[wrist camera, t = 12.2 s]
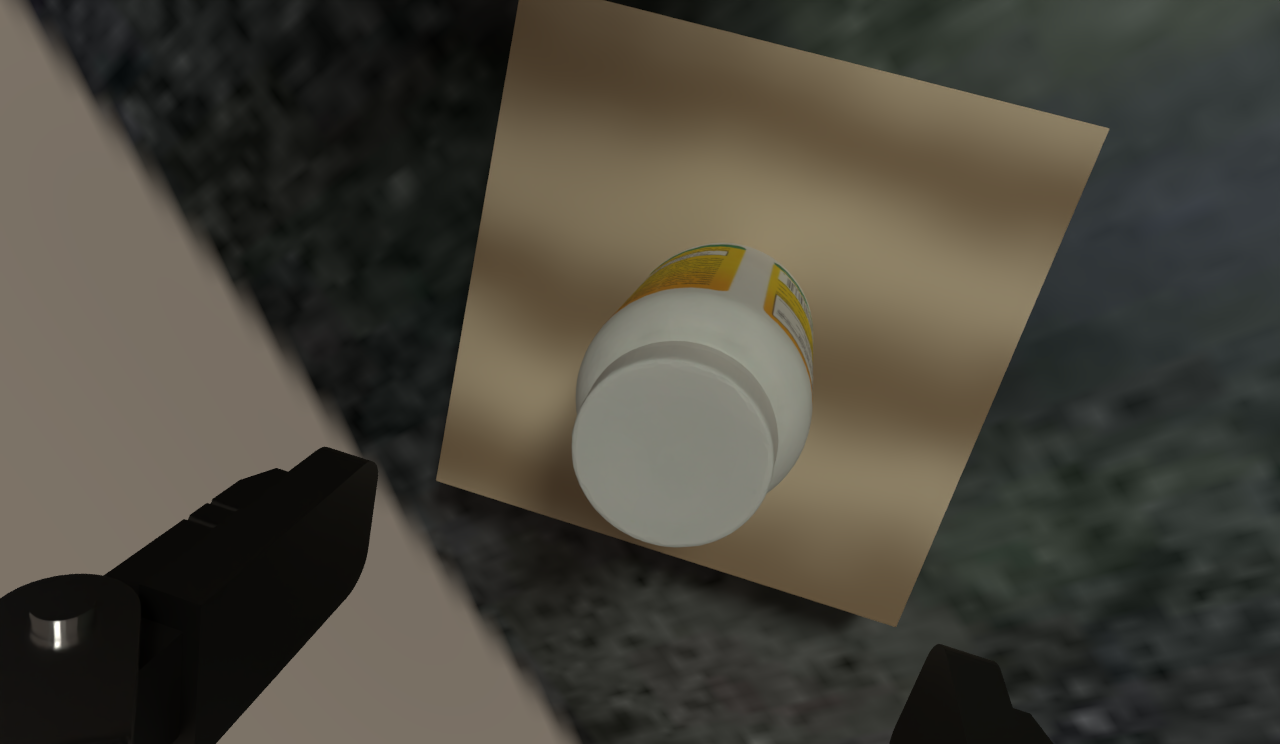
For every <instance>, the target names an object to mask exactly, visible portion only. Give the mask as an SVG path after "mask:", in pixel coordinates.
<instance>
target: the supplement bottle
mask: <svg viewBox="0 0 1280 744" xmlns="http://www.w3.org/2000/svg"><path fill="white" fill-rule="evenodd" d="M813 343H814V335H813V322H812V316H811V311H810V308H809V305H808V302H807V299H806V297H805V295H804V293H803V291H802V289H801V287H800V286H799V284H798V283H797V281H796V280H795V278H794V277H793V276H792V275H791V274H790V272H789V271H788V270H787V269H786V268H785V267H784V266H782V265H781V264H780V263H779V262H778V261H776V260H775V259H773V258H772V257H770V256H769V255H767V254H765V253H763V252H761V251H759V250H757V249H754V248H751V247H748V246H744V245H740V244H735V243H724V242H723V243H711V244H705V245H700V246H696V247H692V248H689V249H687V250H684V251H682V252H680V253H678V254H676V255H674V256H672V257H671V258H669V259H667V260H666V261H665V262H663V263H662V264H661V265H660V266H659V267H658V268H656V269H655V270H654V271H653V272H652V273H651V274H650V275H649V276H648V278H647V279H646V280H645V281H644V282H643V283H642V284H641V285H640V287H639V288H638V289H637V290H636V291H635V292H634V293H633V294H632V295H631V296H630V297H629V298H628V299H627V300H626V302H625V303H624V304H623V305H622V306H621V307H620V308H619V309H618V310H617V311H616V312H615V313H614V315H613V316H612V317H611V318H610V319H609V320H608V321H607V322H606V323H605V324H604V325H603V327H602V328H601V329H600V330H599V332H598V333H597V334H596V336H595V337H594V339H593V340H592V342H591V343H590V345H589V347H588V349H587V351H586V353H585V355H584V358H583V360H582V363H581V366H580V370H579V373H578V378H577V384H576V412H577V417H576V420H575V424H574V427H573V431H572V461H573V467H574V471H575V474H576V477H577V480H578V482H579V485H580V487H581V489H582V490H583V492H584V494H585V496H586V497H587V499H588V500H589V502H590V503H591V505H592V506H593V507H594V508H595V510H596V511H597V512H598V513H599V514H600V515H601V516H602V517H603V518H604V519H605V520H607V521H608V522H609V523H610V524H611V525H613V526H614V527H616V528H617V529H619V530H620V531H622V532H623V533H625V534H627V535H629V536H631V537H633V538H635V539H638V540H641V541H643V542H646V543H650V544H654V545H658V546H664V547H692V546H700V545H705V544H708V543H711V542H714V541H717V540H719V539H722V538H724V537H726V536H727V535H729V534H731V533H732V532H734V531H736V530H737V529H738V528H739V527H741V526H742V525H743V524H744V523H746V522H747V521H748V520H749V519H750V518H751V516H752V515H753V514H754V513H755V512H756V511H757V509H758V508H759V506H760V505H761V503H762V501H763V500H764V498H765V496H766V494H767V493H768V492H770V491H771V490H772V489H773V488H775V487H776V486H777V485H778V484H779V483H780V482H781V481H782V480H783V479H784V478H785V477H786V476H787V474H788V473H789V472H790V470H791V469H792V468H793V466H794V465H795V463H796V461H797V460H798V458H799V456H800V454H801V452H802V450H803V448H804V446H805V443H806V440H807V437H808V434H809V429H810V424H811V417H812V404H813V348H814V344H813Z"/></svg>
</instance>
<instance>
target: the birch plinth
mask: <svg viewBox="0 0 1280 744" xmlns="http://www.w3.org/2000/svg"><path fill="white" fill-rule="evenodd" d="M1108 131H1109V128H1105V127H1101V126H1097V125H1093V124H1089V123H1085V122H1081V121H1077V120H1074V119H1070V118H1066V117H1062V116H1058V115H1054V114H1050V113H1046V112H1042V111H1038V110H1034V109H1030V108H1026V107H1022V106H1018V105H1014V104H1011V103H1007V102H1003V101H999V100H995V99H991V98H987V97H983V96H979V95H975V94H971V93H967V92H963V91H959V90H955V89H951V88H947V87H944V86H940V85H936V84H932V83H928V82H924V81H920V80H916V79H912V78H908V77H904V76H900V75H896V74H892V73H888V72H884V71H881V70H877V69H873V68H869V67H865V66H861V65H857V64H853V63H849V62H845V61H841V60H837V59H833V58H829V57H825V56H821V55H817V54H814V53H810V52H806V51H802V50H798V49H794V48H790V47H786V46H782V45H778V44H774V43H770V42H766V41H762V40H758V39H754V38H751V37H747V36H743V35H739V34H735V33H731V32H727V31H723V30H719V29H715V28H711V27H707V26H703V25H699V24H695V23H691V22H687V21H684V20H680V19H676V18H672V17H668V16H664V15H660V14H656V13H652V12H648V11H644V10H640V9H636V8H632V7H628V6H624V5H621V4H617V3H613V2H609V1H605V0H519V3H518V9H517V14H516V20H515V26H514V32H513V38H512V43H511V49H510V55H509V61H508V67H507V72H506V78H505V84H504V90H503V96H502V101H501V107H500V113H499V119H498V125H497V130H496V136H495V142H494V148H493V154H492V159H491V165H490V171H489V177H488V183H487V188H486V194H485V200H484V206H483V212H482V217H481V223H480V229H479V235H478V241H477V246H476V252H475V258H474V264H473V270H472V275H471V281H470V287H469V293H468V299H467V304H466V310H465V316H464V322H463V328H462V333H461V339H460V345H459V351H458V357H457V362H456V368H455V374H454V380H453V386H452V391H451V397H450V403H449V409H448V415H447V420H446V426H445V432H444V438H443V444H442V449H441V455H440V461H439V467H438V473H437V478H436V481H439V482H442V483H445V484H448V485H451V486H454V487H457V488H461V489H464V490H467V491H470V492H473V493H476V494H479V495H483V496H486V497H489V498H492V499H495V500H498V501H501V502H505V503H508V504H511V505H514V506H517V507H520V508H523V509H527V510H530V511H533V512H536V513H539V514H542V515H545V516H549V517H552V518H555V519H558V520H561V521H564V522H567V523H571V524H574V525H577V526H580V527H583V528H586V529H589V530H593V531H596V532H599V533H602V534H605V535H608V536H611V537H615V538H618V539H621V540H624V541H627V542H630V543H633V544H636V545H640V546H643V547H646V548H649V549H652V550H655V551H658V552H662V553H665V554H668V555H671V556H674V557H677V558H680V559H684V560H687V561H690V562H693V563H696V564H699V565H702V566H706V567H709V568H712V569H715V570H718V571H721V572H724V573H728V574H731V575H734V576H737V577H740V578H743V579H746V580H750V581H753V582H756V583H759V584H762V585H765V586H768V587H772V588H775V589H778V590H781V591H784V592H787V593H790V594H793V595H797V596H800V597H803V598H806V599H809V600H812V601H815V602H819V603H822V604H825V605H828V606H831V607H834V608H837V609H841V610H844V611H847V612H850V613H853V614H856V615H859V616H863V617H866V618H869V619H872V620H875V621H878V622H881V623H885V624H888V625H891V626H894V627H896V626H897V624H898V621H899V619H900V617H901V614H902V612H903V610H904V607H905V605H906V603H907V600H908V598H909V596H910V593H911V591H912V589H913V586H914V584H915V582H916V579H917V577H918V575H919V572H920V570H921V568H922V565H923V563H924V561H925V558H926V556H927V554H928V551H929V549H930V547H931V544H932V542H933V540H934V537H935V535H936V533H937V530H938V528H939V526H940V523H941V521H942V519H943V516H944V514H945V512H946V509H947V507H948V504H949V502H950V500H951V497H952V495H953V493H954V490H955V488H956V486H957V483H958V481H959V479H960V476H961V474H962V472H963V469H964V467H965V465H966V462H967V460H968V458H969V455H970V453H971V451H972V448H973V446H974V444H975V441H976V439H977V437H978V434H979V432H980V430H981V427H982V425H983V423H984V420H985V418H986V416H987V413H988V411H989V409H990V406H991V404H992V402H993V399H994V397H995V395H996V392H997V390H998V388H999V385H1000V383H1001V381H1002V378H1003V376H1004V374H1005V371H1006V369H1007V367H1008V364H1009V362H1010V360H1011V357H1012V355H1013V353H1014V350H1015V348H1016V346H1017V343H1018V341H1019V339H1020V336H1021V334H1022V332H1023V329H1024V327H1025V325H1026V322H1027V320H1028V318H1029V315H1030V313H1031V311H1032V308H1033V306H1034V304H1035V301H1036V299H1037V297H1038V294H1039V292H1040V290H1041V287H1042V285H1043V283H1044V280H1045V278H1046V276H1047V273H1048V271H1049V269H1050V266H1051V264H1052V262H1053V259H1054V257H1055V255H1056V252H1057V250H1058V248H1059V245H1060V243H1061V241H1062V238H1063V236H1064V234H1065V231H1066V229H1067V227H1068V224H1069V222H1070V220H1071V217H1072V215H1073V213H1074V210H1075V208H1076V206H1077V203H1078V201H1079V199H1080V196H1081V194H1082V192H1083V189H1084V187H1085V185H1086V182H1087V180H1088V178H1089V175H1090V173H1091V171H1092V168H1093V166H1094V164H1095V161H1096V159H1097V157H1098V154H1099V152H1100V150H1101V147H1102V145H1103V143H1104V140H1105V138H1106V136H1107V133H1108ZM723 242H724V243H735V244H740V245H744V246H748V247H751V248H754V249H757V250H759V251H761V252H763V253H765V254H767V255H769V256H770V257H772V258H773V259H775V260H776V261H778V262H779V263H780V264H781V265H782V266H784V267H785V268H786V269H787V270H788V271H789V272H790V274H791V275H792V276H793V277H794V278H795V280H796V281H797V283H798V284H799V286H800V287H801V289H802V291H803V293H804V295H805V297H806V299H807V302H808V305H809V308H810V311H811V316H812V322H813V335H814V343H813V344H814V348H813V404H812V417H811V424H810V429H809V434H808V437H807V440H806V443H805V446H804V448H803V450H802V452H801V454H800V456H799V458H798V460H797V461H796V463H795V465H794V466H793V468H792V469H791V470H790V472H789V473H788V474H787V476H786V477H785V478H784V479H783V480H782V481H781V482H780V483H779V484H778V485H777V486H776V487H775V488H773V489H772V490H771V491H770V492H768V493H767V494H766V496H765V498H764V500H763V501H762V503H761V505H760V506H759V508H758V509H757V511H756V512H755V513H754V514H753V515H752V516H751V518H750V519H749V520H748V521H747V522H746V523H744V524H743V525H742V526H741V527H739V528H738V529H737V530H736V531H734V532H732V533H731V534H729V535H727V536H726V537H724V538H722V539H719V540H717V541H714V542H711V543H708V544H705V545H700V546H692V547H664V546H658V545H654V544H650V543H646V542H643V541H641V540H638V539H635V538H633V537H631V536H629V535H627V534H625V533H623V532H622V531H620V530H619V529H617V528H616V527H614V526H613V525H611V524H610V523H609V522H608V521H607V520H605V519H604V518H603V517H602V516H601V515H600V514H599V513H598V512H597V511H596V510H595V508H594V507H593V506H592V505H591V503H590V502H589V500H588V499H587V497H586V496H585V494H584V492H583V490H582V489H581V487H580V485H579V482H578V480H577V477H576V474H575V471H574V467H573V461H572V431H573V427H574V424H575V420H576V417H577V412H576V384H577V378H578V373H579V370H580V366H581V363H582V360H583V358H584V355H585V353H586V351H587V349H588V347H589V345H590V343H591V342H592V340H593V339H594V337H595V336H596V334H597V333H598V332H599V330H600V329H601V328H602V327H603V325H604V324H605V323H606V322H607V321H608V320H609V319H610V318H611V317H612V316H613V315H614V313H615V312H616V311H617V310H618V309H619V308H620V307H621V306H622V305H623V304H624V303H625V302H626V300H627V299H628V298H629V297H630V296H631V295H632V294H633V293H634V292H635V291H636V290H637V289H638V288H639V287H640V285H641V284H642V283H643V282H644V281H645V280H646V279H647V278H648V276H649V275H650V274H651V273H652V272H653V271H654V270H655V269H656V268H658V267H659V266H660V265H661V264H662V263H663V262H665V261H666V260H667V259H669V258H671V257H672V256H674V255H676V254H678V253H680V252H682V251H684V250H687V249H689V248H692V247H696V246H700V245H705V244H711V243H723Z"/></svg>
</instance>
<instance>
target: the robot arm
mask: <svg viewBox="0 0 1280 744" xmlns="http://www.w3.org/2000/svg"><path fill="white" fill-rule="evenodd" d="M377 480H378V469H377V465H376V464H375V463H374V462H372V461H369V460H366V459H363V458H360V457H357V456H354V455H350V454H347V453H344V452H341V451H338V450H335V449H332V448H328V447H322V448H320V449H318V450H317V451H315V452H314V453H313V454H311V455H310V456H309V457H307V458H306V459H305V460H303V461H302V462H301V463H299V464H298V465H297V466H295V467H294V468H293V469H291V470H290V471H289V472H287V471H284V470H281V469H278V468H275V469H272V470H269V471H266V472H263V473H260V474H257V475H254V476H251V477H248V478H245V479H242V480H239V481H238V482H236V483H235V484H233V485H232V486H231V487H229V488H228V489H226V490H225V491H223V492H222V493H221V494H219V495H218V496H216V497H215V498H213V499H212V502H211V504H208V503H207V504H205V505H203V506H202V507H201V508H199V509H198V510H196V511H195V512H194V513H192V514H191V515H190V517H189V519H188V520H185V519H184V520H182V521H181V522H179V523H178V524H176V525H175V526H174V527H172V528H171V529H169V530H168V531H166V532H165V533H164V534H162V535H161V536H159V537H158V538H156V539H155V540H154V541H152V542H151V543H149V544H148V545H147V546H145V547H144V548H142V549H141V550H140V551H138V552H137V553H135V554H134V555H132V556H131V557H129V558H128V559H127V560H125V561H124V562H122V563H121V564H120V565H118V566H117V567H115V568H114V569H112V570H111V571H110V572H108V573H107V574H105V575H104V576H101V575H95V574H94V575H93V574H69V575H60V576H54V577H50V578H45V579H42V580H38V581H35V582H31V583H29V584H27V585H24V586H21V587H19V588H17V589H15V590H13V591H11V592H10V593H8V594H6V595H5V596H3V597H2V598H0V744H216V743H217V742H218V741H219V739H220V738H221V737H222V736H223V735H224V734H225V733H226V732H227V731H228V729H229V728H230V727H231V726H232V725H233V724H234V723H235V722H236V721H237V719H238V718H239V717H240V716H241V715H242V714H243V713H244V711H245V710H246V709H247V708H248V707H249V706H250V705H251V704H252V703H253V701H254V700H255V699H256V698H257V697H258V696H259V695H260V694H261V693H262V691H263V690H264V689H265V688H266V687H267V686H268V685H269V684H270V683H271V681H272V680H273V679H274V678H275V677H276V676H277V675H278V674H279V673H280V671H281V670H282V669H283V668H284V667H285V666H286V665H287V664H288V662H289V661H290V660H291V659H292V658H293V657H294V656H295V655H296V654H297V652H298V651H299V650H300V649H301V648H302V647H303V646H304V645H305V644H306V642H307V641H308V640H309V639H310V638H311V637H312V636H313V635H314V634H315V632H316V631H317V630H318V629H319V628H320V627H321V626H322V625H323V623H324V622H325V621H326V620H327V619H328V618H329V617H330V615H332V613H333V612H334V611H335V610H336V609H337V608H338V607H339V606H340V604H341V603H342V602H343V601H344V600H345V599H346V598H347V597H348V595H349V594H350V593H351V591H352V590H353V588H354V587H355V585H356V583H357V581H358V579H359V577H360V575H361V573H362V570H363V567H364V564H365V561H366V557H367V553H368V546H369V539H370V531H371V523H372V517H373V516H372V515H373V509H374V502H375V495H376V487H377ZM890 744H1053V743H1052V741H1051V740H1050V739H1049V737H1048V736H1047V735H1046V734H1045V732H1044V731H1043V730H1042V728H1041V727H1040V726H1039V724H1038V723H1037V722H1036V721H1035V719H1034V718H1033V717H1032V715H1031V714H1030V713H1026V712H1023V711H1020V710H1017V709H1014V708H1013V707H1012V704H1011V701H1010V698H1009V695H1008V692H1007V688H1006V685H1005V682H1004V679H1003V676H1002V673H1001V670H1000V667H999V666H998V664H997V663H996V662H995V661H991V660H988V659H985V658H982V657H979V656H976V655H973V654H969V653H966V652H963V651H960V650H957V649H954V648H951V647H948V646H944V645H941V644H938V645H936V646H934V647H933V649H932V650H931V651H930V653H929V655H928V657H927V659H926V661H925V663H924V665H923V667H922V669H921V672H920V674H919V676H918V678H917V680H916V682H915V685H914V687H913V689H912V691H911V693H910V696H909V698H908V700H907V702H906V704H905V706H904V709H903V711H902V713H901V715H900V717H899V719H898V722H897V724H896V726H895V728H894V731H893V734H892V737H891V740H890Z"/></svg>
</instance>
